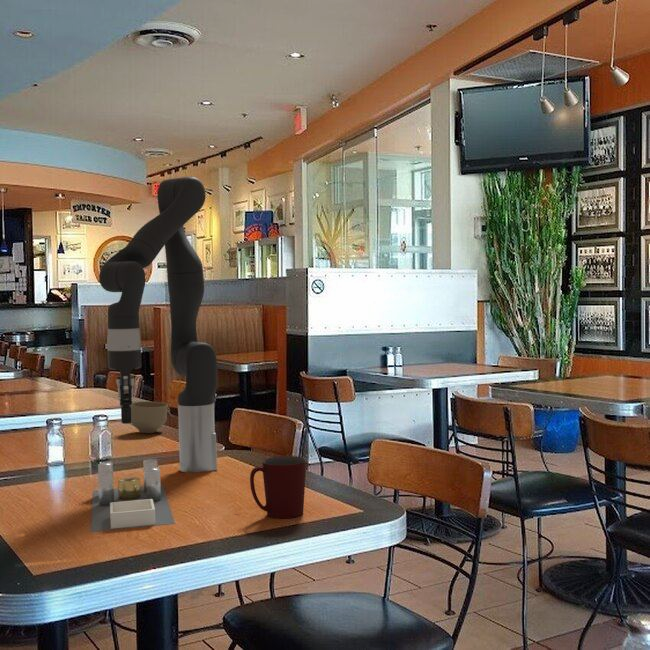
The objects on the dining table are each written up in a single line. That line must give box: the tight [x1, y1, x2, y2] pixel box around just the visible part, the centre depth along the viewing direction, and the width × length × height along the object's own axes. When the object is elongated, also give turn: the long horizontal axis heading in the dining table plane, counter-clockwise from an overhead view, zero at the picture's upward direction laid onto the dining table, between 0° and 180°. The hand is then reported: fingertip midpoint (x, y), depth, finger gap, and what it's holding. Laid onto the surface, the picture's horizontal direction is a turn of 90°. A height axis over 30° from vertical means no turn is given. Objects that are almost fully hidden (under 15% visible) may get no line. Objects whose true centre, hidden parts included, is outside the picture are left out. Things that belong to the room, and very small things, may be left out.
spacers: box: [97, 458, 162, 506], centre depth 181 cm, size 13×12×7 cm
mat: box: [90, 484, 176, 533], centre depth 173 cm, size 16×34×1 cm, turn 15°
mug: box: [249, 455, 307, 519], centre depth 165 cm, size 12×9×11 cm
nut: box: [117, 476, 141, 500], centre depth 181 cm, size 5×5×4 cm
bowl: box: [130, 401, 169, 434], centre depth 268 cm, size 13×13×10 cm
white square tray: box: [110, 499, 155, 529], centre depth 162 cm, size 8×8×3 cm
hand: (126, 422), depth 187 cm, fingers closed
